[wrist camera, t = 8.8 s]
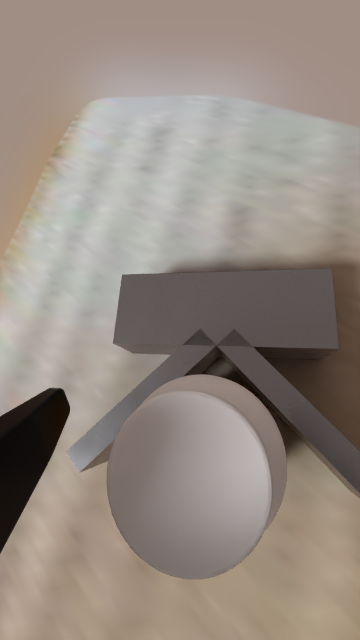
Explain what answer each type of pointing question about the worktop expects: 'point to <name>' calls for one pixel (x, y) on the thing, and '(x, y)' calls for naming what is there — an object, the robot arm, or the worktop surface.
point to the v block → (230, 347)
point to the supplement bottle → (196, 476)
